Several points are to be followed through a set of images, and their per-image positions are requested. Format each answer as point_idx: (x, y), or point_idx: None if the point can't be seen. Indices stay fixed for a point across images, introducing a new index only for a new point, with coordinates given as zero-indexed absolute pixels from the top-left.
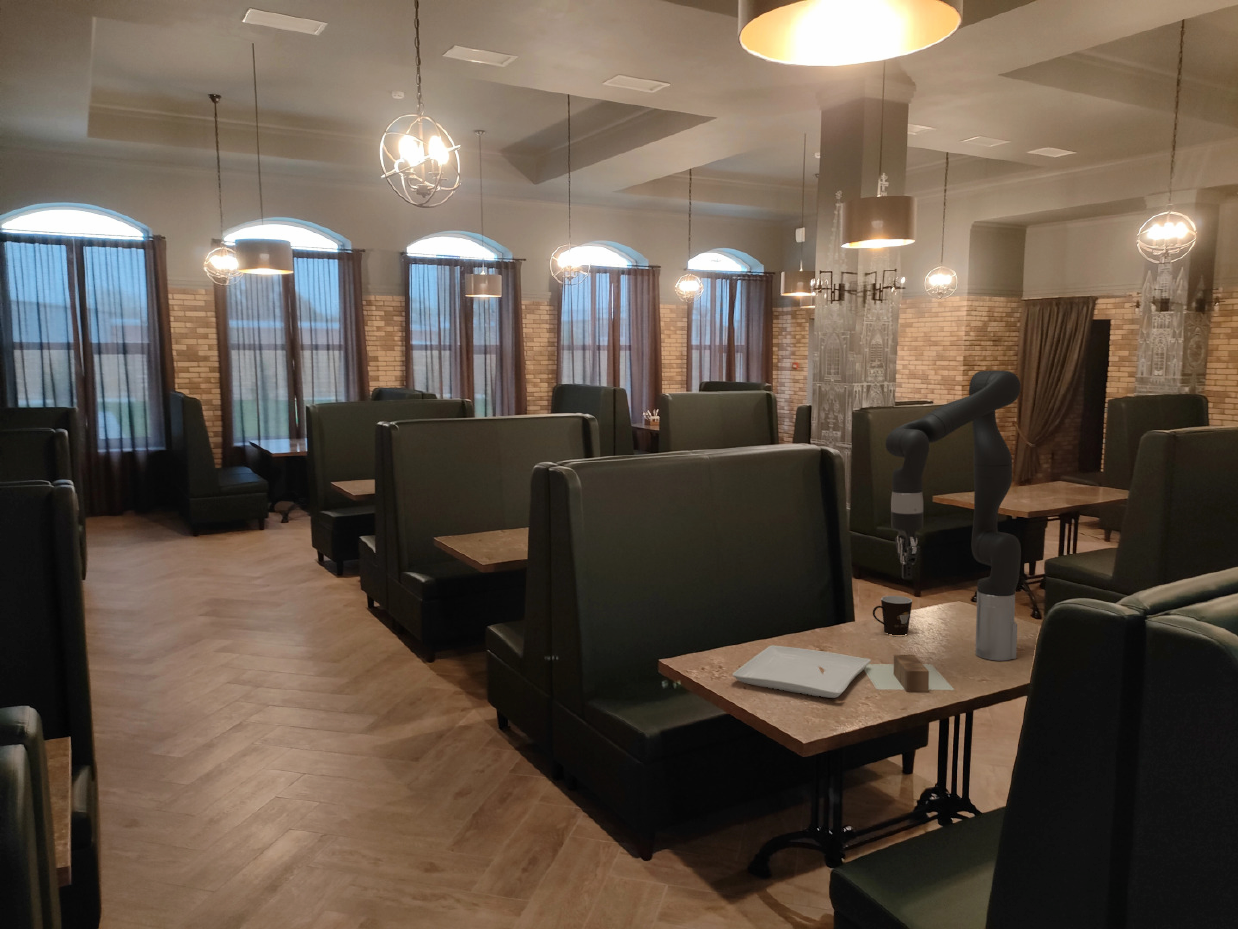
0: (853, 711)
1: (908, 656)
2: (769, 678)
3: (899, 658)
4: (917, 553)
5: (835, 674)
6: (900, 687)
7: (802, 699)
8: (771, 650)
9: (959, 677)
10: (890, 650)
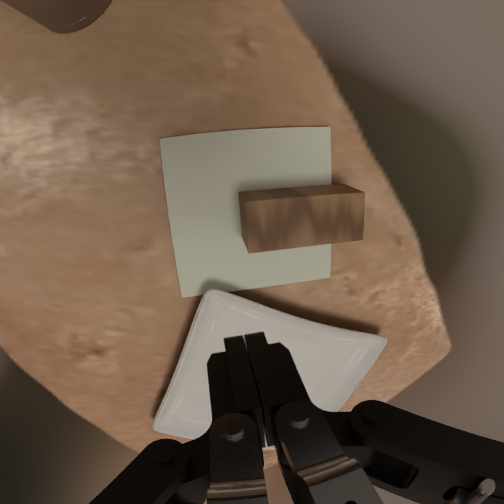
0: (398, 311)
1: (260, 219)
2: None
3: (277, 243)
4: (492, 446)
5: None
6: None
7: None
8: (166, 426)
9: (231, 88)
10: (58, 220)
